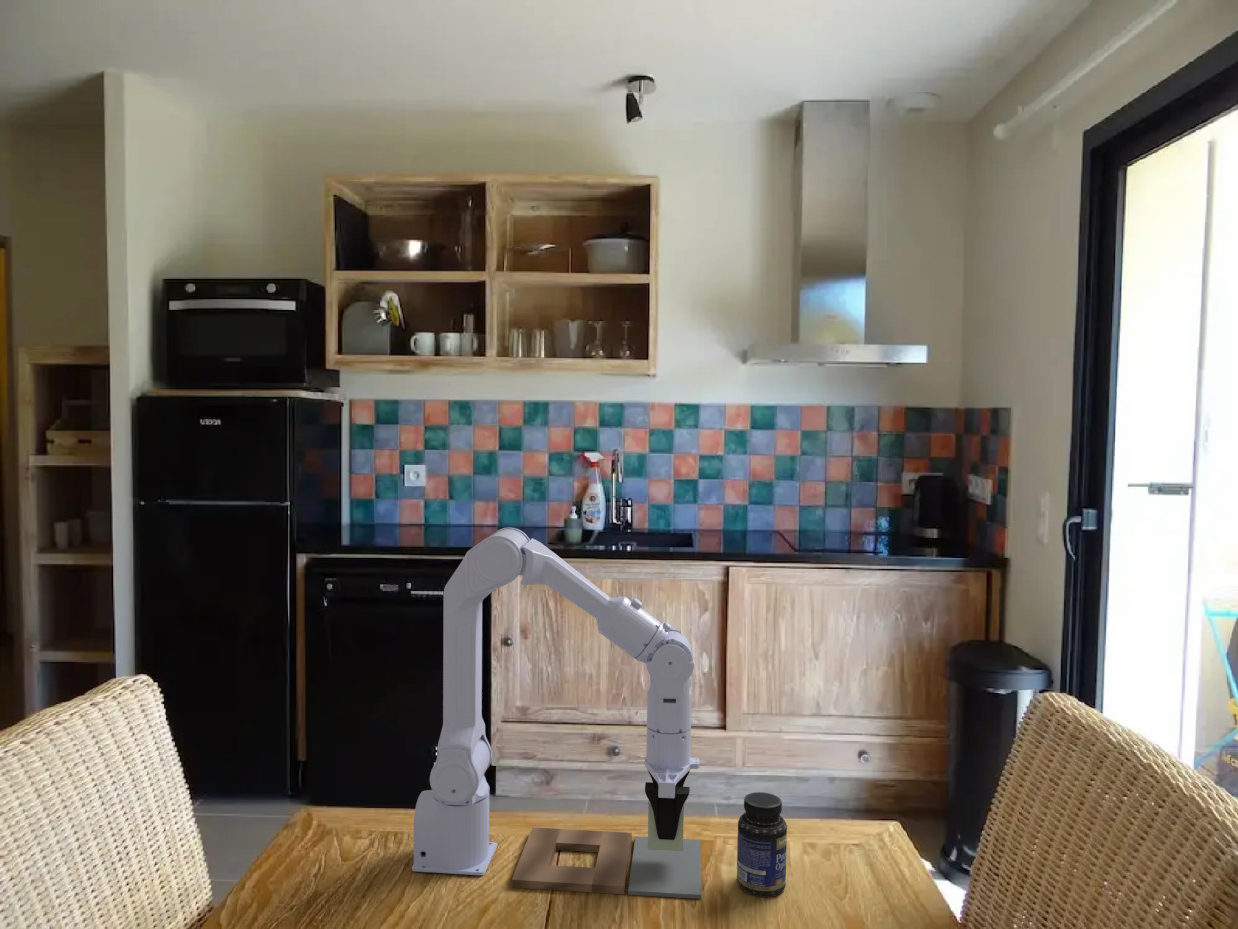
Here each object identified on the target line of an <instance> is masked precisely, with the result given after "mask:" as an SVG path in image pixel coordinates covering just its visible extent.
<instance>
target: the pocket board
mask: <svg viewBox="0 0 1238 929" xmlns="http://www.w3.org/2000/svg"><path fill="white" fill-rule="evenodd" d="M632 841H633V833H632V832H626V831H625V832H623V831H605V830H589V829H587V830H586V829H567V828H554V827H553V828H551V827H550V828H549V827H531V830H530V832H529V835H528V838H527V840H526V843H525V845H524V848H523V850H522V853H521V854H520V858H519V860H518V863H517V866H516V868H515V870H514V873H513V875H512V878H511V888H513V889H514V888H515V889H529V890H546V891H549V890H551V891H564V892H566V891H567V892H580V893H582V892H583V893H585V892H586V893H594V894H595V893H599V894H614V895H615V894H616V895H624V894H625V892H626V891H625V889H626V882H627V876H628V871H629V870H628V869H629V862H630V856H631V855H630V854H631V848H632V847H631V846H632ZM556 851H571V852H585V853H586V852H587V853H598V854H597V859H596V863H595V866H594V867H589V866H587V867H586V866H585V867H584V866H570V865H569V866H567V865H556V864H555V865H553V861H554V859H555V858H554V857H555V855H556V853H557V852H556Z"/></svg>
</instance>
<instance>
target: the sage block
mask: <svg viewBox="0 0 1238 929" xmlns="http://www.w3.org/2000/svg"><path fill="white" fill-rule="evenodd" d="M647 808H648V817H647V818H648V819H647V820H648V821H647V837H648V850H667V851H683V839H684V827H685V826H684V825H685V823H684V820H685V818H684V815H685V813H684V812H685V804H684V805H683V808H682V810H681V814H680V818H679V823H678V829H677V833H676V837H675V840H664V839H659V838H658V835H657V830H656V824H655V818H654V813H653V809H652V806H651V804H650V801H649V800H648V807H647Z"/></svg>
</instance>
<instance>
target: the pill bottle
mask: <svg viewBox="0 0 1238 929" xmlns="http://www.w3.org/2000/svg"><path fill="white" fill-rule="evenodd" d="M743 809H744V811H745V812H744V813H742V814H741V815H740V816H739V817H738V821H737V854H736V861H737V862H736V882H737V884H738V886H739V888H741V890H742V891H744V892H746V893H747V894H750V895H752V896H755V897H761V898H763V897H765V898H767V897H769V898H770V897H775V896H779V895H780V894H781V893H783V892H784V890H785V888H786V885H787V882H786V880H787V878H786V877H787V847H788V846H787V842H788V840H787V838H788V837H787V836H788V825H787V822H786V820H785V819H784V818H783V816H781V813H782V810H783V801H782V799H781V798H780V797H779V796H777V795H775V794H774V793H769V792H763V791H761V792H759V791H756V792H754V791H753V792H750V793H748V794H746V795H745V796H744V799H743Z"/></svg>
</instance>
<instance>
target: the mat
mask: <svg viewBox="0 0 1238 929" xmlns="http://www.w3.org/2000/svg"><path fill="white" fill-rule="evenodd" d="M701 846H702V845H701V839H692V838H691V839H688V838H687V839H686V838H683V851H667V850H648V836H635V839H634V844H633V852H632V859H631V867H630V874H629V875H630V876H629V880H628V886H627V887H628V888H627V895H629V896H647V897H660V898H662V897H664V898H665V897H666V898H682V899H695V900H696V899H697V900H698V899H699V900H700V899H701V900H702V898H703V897H702V896H703V895H702V894H703V893H702V855H701V854H702V851H701V850H702V849H701V848H702V847H701Z"/></svg>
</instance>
